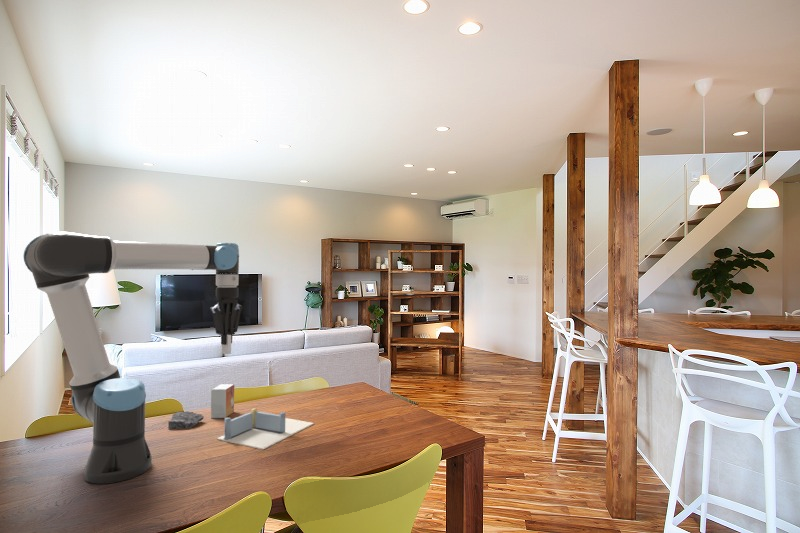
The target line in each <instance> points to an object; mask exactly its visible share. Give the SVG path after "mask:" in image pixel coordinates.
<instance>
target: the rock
mask: <svg viewBox="0 0 800 533" xmlns="http://www.w3.org/2000/svg"><path fill="white" fill-rule="evenodd" d="M204 417H205V416H204V415H203V414H201V413H195V412H193V411H177V412H175V413H173V414H172V417H171V419H169V420H168V427H167V428H168V430H180V429H181V430H182V429H183V430H184V429H192V428H193V427H195V426H196V425H197V424H198V423H199V422H202V420H203V419H204Z"/></svg>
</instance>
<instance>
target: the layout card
mask: <svg viewBox="0 0 800 533" xmlns="http://www.w3.org/2000/svg"><path fill="white" fill-rule="evenodd" d="M313 425H314V422H311V421H305V420H304V421H303V420H299V419H295V418H288V417H285V432H278V431H273V430H267V429H262V428H257V427H252V428H251V429H248V430H246V431H244V432H241V433H239V434H237V435H235V436H232V437H231V438H230V439H229V440H225V439H224V438H225V434H224V435H221V436H218V437H217V438H216V440H218V441H222V442H227V443H231V444H236V445H240V446H244V447H249V448H253V449H254V448H255V449H257V450H261V451H262V450H265V449H268V448H270V447H272V446H273V445H275V444H277V443H279V442H282V441H283V440H285V439H287V438H289V437H291V436H293V435H295V434H297V433H299V432H301V431H303V430H305V429H307V428H309V427H311V426H313Z"/></svg>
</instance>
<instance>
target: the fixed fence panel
mask: <svg viewBox="0 0 800 533" xmlns="http://www.w3.org/2000/svg"><path fill="white" fill-rule="evenodd" d="M251 428H252V412H247V413H245V414H241V415H239V416H236V417H234V418H231V417H226V418H224V435H225V438H224V439H225V440H229V439H230V438H231V437H232V436H235V435H237V434H239V433H241V432H244V431H246V430H248V429H251Z"/></svg>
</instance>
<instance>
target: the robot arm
mask: <svg viewBox="0 0 800 533" xmlns="http://www.w3.org/2000/svg"><path fill="white" fill-rule="evenodd" d="M23 251H24V252H23V262H24V265H25V267H26V268H27V269H28V270H29V272H31V273H32V277H33V279H34V282H35V285H36V288H37V290H40V291H42V292H44V293H46V295H47V298H48V301H49V304H50V307H51V310H52V313H53V317H54V320H55V322H56V325H57V329H58V331H59V335H60V338H61V341H62V343H63V345H64V347H63V348H64V350H65V353H66V355H67V359H68V361H69V365H70V367H71V371H72V374H73V375H72V376H73V377H72V378H71V379H70V381H69V382H68V383H69V388H70V389H71V390H70V391H71V393H72V394H71V398H70V399H71V405H72V407H73V409H74V411H75V412H76V414H77V415H79V416H80V417H82V418H84V419H85V420H88V421H89V422H91V423H92V447H91V450H90V453H89V456H88V458H87V462H86V464H85V466H84V471H83V472H84V473H83V474H84V475H83V476H84V477H83V478H84V480H85V482H88V483H90V484H99V485H100V484H101V485H102V484H103V485H104V484H113V483H119V482H122V481H127V480H129V479H133V478H136V477H137V476H138V477H139V476H140V475H143V474H144V473H145V472H147V471H148V470H149V469H150V468H151V467H152V463H153V462H152V461H153V460H152V459H153V458H152V453H151V451H150V449H149V448H150V447H149V446H148V443H147V440H146V437H145V433H146V432H145V429H146V428H145V427H146V398H147V393H146V386H145V384H144V383H143V382H142V381H141V380H140V379H136V378H129V377H121V374H120V372H119V369H118V366H116V365H113V364H111V363H110V360H109V357H108V354H107V350H106V348H105V344H104V341H103V339H102V335H101V332H100V328H99V325H98V322H97V318H96V315H95V313H94V309H93V305H92V302H91V300H90V296H89V293H88V291H87V287H86V283H87V282H88V280H89V279H90V278H91V276H90V274H91V275H92V274H108V273H110V272H111V271H112V270H189V271H193V270H199V271H203V270H204V271H207V270H209V271H210V270H213V271H215V286H217V287H215V298H216V302H215V304H214V306H211V307H210V308H209V310H210V312H211V314H212V319H213V323H214V329H215V334H217V335H219V336H220V344H221V348H222V349H221V350H222V351H221V354H223V355H230V354H232V343H233V335H235V334H236V333H237V332H238V330H239V322H240V317H241V314H242V310H243V308H244V306H243V305H241V304H239V303H238V298H239V287H238V286H239V278H240V277H239V270H240V269H239V268H240V266H239V265H240V249H239V245H238V244H237V243H233V242H217V243H216V245H208V244H207V245H204V244H203V245H202V244H187V243H186V244H185V243H184V244H183V243H167V242H165V243H163V242H162V243H161V242H143V241H142V242H141V241H120V240H113V239H111V238H110V237H109V236H101V235H100V236H99V235H90V234H83V233H77V232H69V231H58V232H52V233H46V234H41V235H38V236H36V237H35V238H34V239H32V240H31V241H30V242H29V243H28V244H27V245H26V247H25V249H24V250H23Z"/></svg>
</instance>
